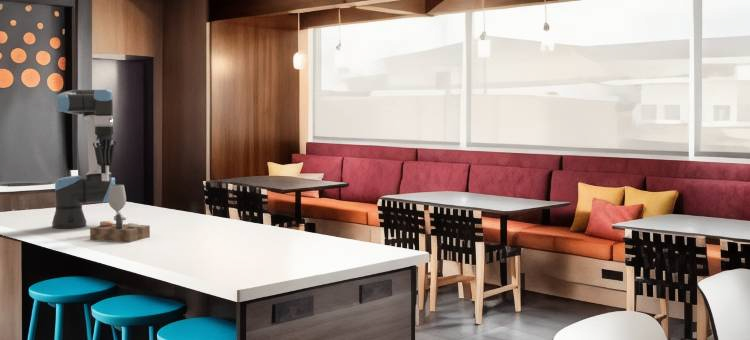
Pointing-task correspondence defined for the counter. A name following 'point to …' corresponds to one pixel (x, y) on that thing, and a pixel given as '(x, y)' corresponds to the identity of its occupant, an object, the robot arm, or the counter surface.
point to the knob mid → (122, 219)
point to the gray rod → (119, 220)
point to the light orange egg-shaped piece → (106, 223)
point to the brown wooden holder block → (119, 233)
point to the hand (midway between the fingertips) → (105, 180)
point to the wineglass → (117, 197)
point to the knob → (133, 225)
